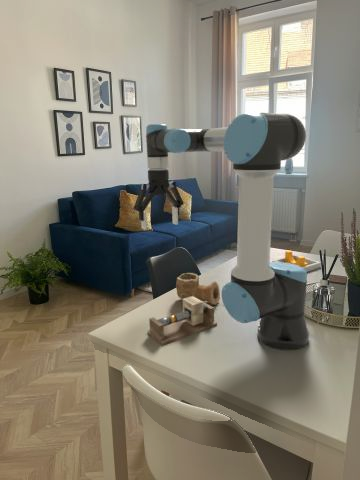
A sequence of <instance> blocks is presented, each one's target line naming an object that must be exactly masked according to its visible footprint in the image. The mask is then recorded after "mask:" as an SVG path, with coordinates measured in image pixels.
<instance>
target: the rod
mask: <svg viewBox="0 0 360 480" xmlns="http://www.w3.org/2000/svg"><path fill="white" fill-rule="evenodd" d="M206 312H207V307H206V305H203V313H206ZM188 318H191V311H190V310H186V311H183V310H182V311H180V312H177V313H174V314H173V315H170V316H169V315H168V316H165V317H161V318H158V319H157V320H158V321H159V322H161V323H162V324H163V325H164V326H167V325H170V324H172V323H175V322H179V321H182V320H185V319H188Z"/></svg>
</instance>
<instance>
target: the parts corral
mask: <svg viewBox="0 0 360 480" xmlns="http://www.w3.org/2000/svg"><path fill="white" fill-rule="evenodd" d="M292 255H293V258H294V260H295V261H297V259H298V257H301V256H300V255H297V254H292ZM271 262H284V263H285V256H283V257H280V258H276V259H273V260H271ZM305 262H306V263H308V265H307V266H304V267H302V268H304V269H305V271H306V272H307V273H308V272H312V271H314V270H318V269H320V268H321V267H322V262H321V261H317V260H314V259H311V258H308V257H305Z"/></svg>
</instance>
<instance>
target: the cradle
mask: <svg viewBox="0 0 360 480" xmlns="http://www.w3.org/2000/svg"><path fill="white" fill-rule="evenodd" d="M202 302H203V305H206V307H207V312H206V313H203V323H200V324H197V325H194V326H193V325H191V324H190V323H188V322H187V321H185V320H182V321H179V322H175V323H172V324H170V325H167V326H164V325H163V324H162V323H161V322H159V321H158V319H156V318H155V317H151V318H149V329H148V330H147V333H148V334H149V336H151V337H152V338H153V339H154V340H156V341H157V342H158V343H159V344H160V345H162V346H164V345H167V344H170V343H172V342H175V341H177V340H180V339H183V338H186V337H188V336H191V335H194V334H196V333H199V332H202V331H204V330H207V329H210V328H212V327H215V326H218V322H216V321H215V307H214V306H211V305H210V304H208V303H206V301H202Z"/></svg>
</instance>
